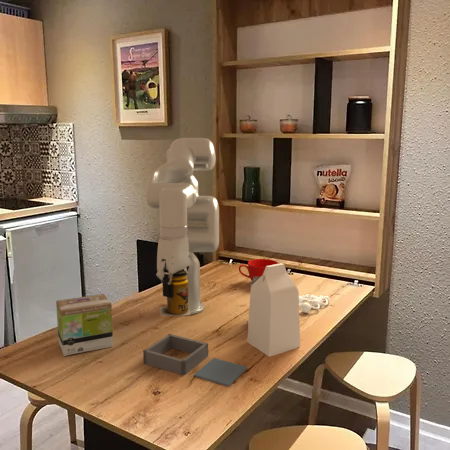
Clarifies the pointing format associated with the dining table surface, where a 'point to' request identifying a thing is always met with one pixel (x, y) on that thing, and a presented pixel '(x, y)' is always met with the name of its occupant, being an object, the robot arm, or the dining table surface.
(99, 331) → the tea box
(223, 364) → the slate mat
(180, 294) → the condiment
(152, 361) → the bin
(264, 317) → the milk
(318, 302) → the tangled rod sculpture
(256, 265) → the ceramic cup
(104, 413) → the dining table surface
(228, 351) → the dining table surface
